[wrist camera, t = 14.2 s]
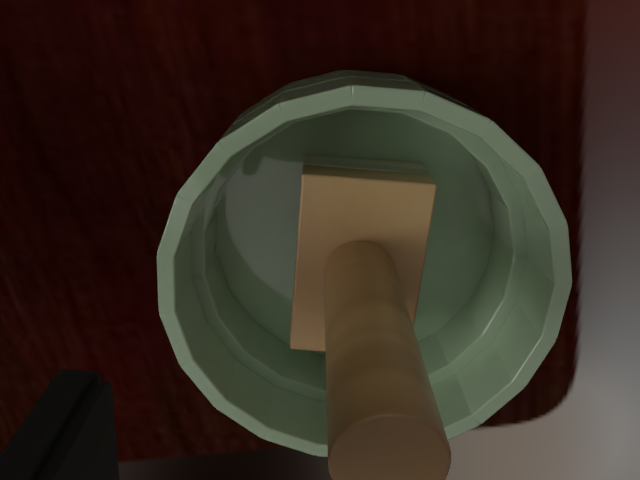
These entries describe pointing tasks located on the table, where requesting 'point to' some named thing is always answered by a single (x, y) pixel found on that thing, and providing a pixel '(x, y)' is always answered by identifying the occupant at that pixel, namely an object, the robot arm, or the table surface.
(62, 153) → the table surface
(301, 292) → the wooden stamp
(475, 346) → the bowl
